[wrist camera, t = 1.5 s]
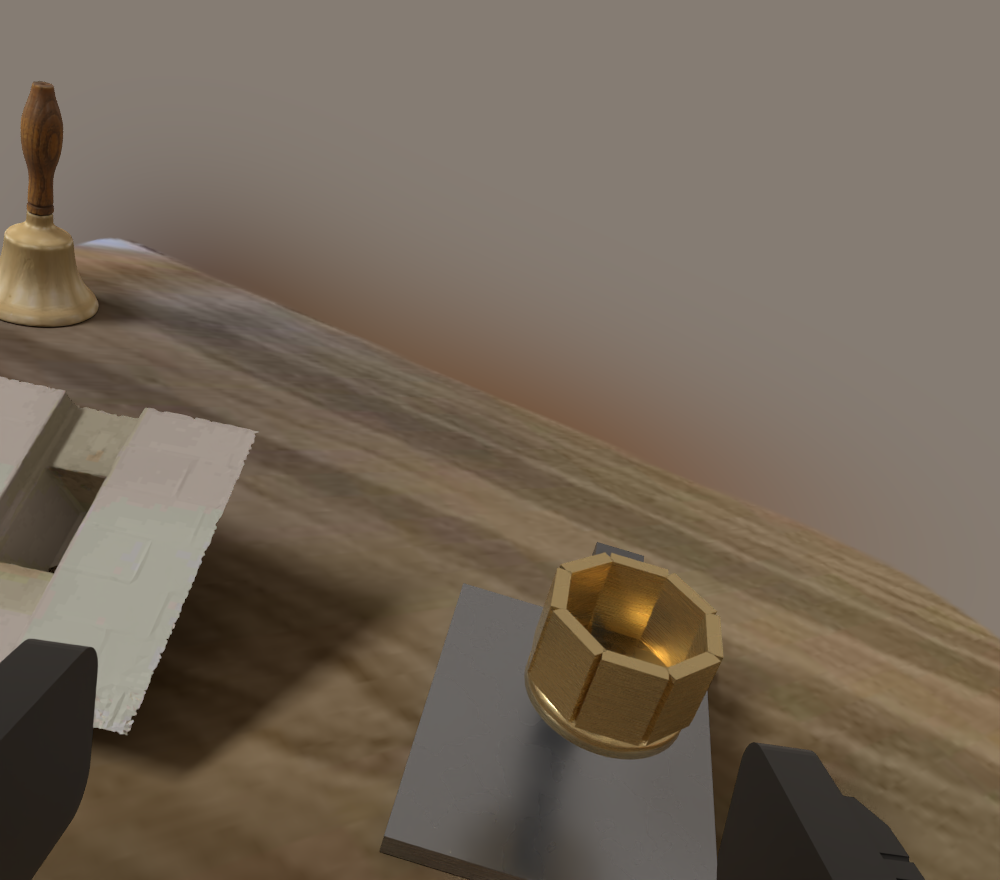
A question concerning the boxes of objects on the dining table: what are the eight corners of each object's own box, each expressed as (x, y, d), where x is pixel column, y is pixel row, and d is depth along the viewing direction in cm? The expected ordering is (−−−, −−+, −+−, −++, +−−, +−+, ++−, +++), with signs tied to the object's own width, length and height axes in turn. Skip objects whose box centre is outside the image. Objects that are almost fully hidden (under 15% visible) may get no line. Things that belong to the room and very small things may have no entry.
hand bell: (108, 290, 75) (118, 83, 67) (85, 335, 68) (92, 111, 60) (-7, 271, 73) (-11, 56, 65) (-43, 316, 66) (-52, 81, 58)
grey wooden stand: (211, 754, 45) (303, 464, 50) (131, 741, 37) (250, 397, 42) (-92, 679, 48) (25, 410, 53) (-229, 651, 40) (-75, 337, 45)
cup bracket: (712, 953, 38) (830, 760, 32) (379, 851, 38) (439, 642, 33) (699, 669, 53) (778, 502, 47) (459, 596, 53) (510, 423, 48)
